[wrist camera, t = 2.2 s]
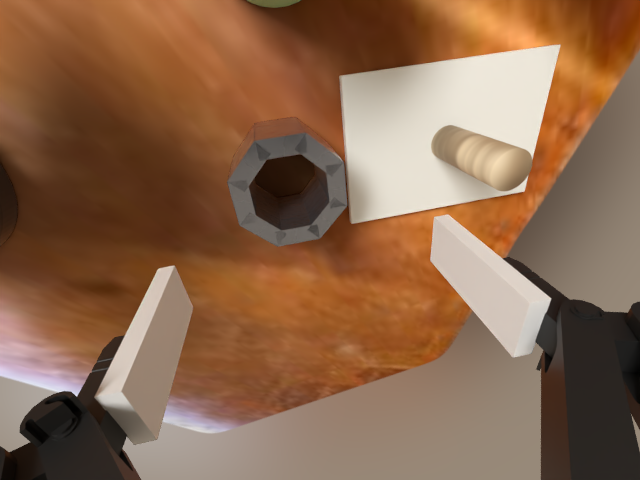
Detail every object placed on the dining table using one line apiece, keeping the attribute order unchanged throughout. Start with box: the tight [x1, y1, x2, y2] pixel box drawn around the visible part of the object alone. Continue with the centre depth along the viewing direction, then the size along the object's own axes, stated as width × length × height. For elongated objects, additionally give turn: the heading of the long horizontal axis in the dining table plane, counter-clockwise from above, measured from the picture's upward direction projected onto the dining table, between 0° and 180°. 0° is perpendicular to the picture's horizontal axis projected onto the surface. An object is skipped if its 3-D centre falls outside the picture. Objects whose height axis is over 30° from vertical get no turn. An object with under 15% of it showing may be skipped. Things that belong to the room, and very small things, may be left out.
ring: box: [227, 117, 347, 246], centre depth 26 cm, size 9×9×7 cm
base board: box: [339, 45, 560, 224], centre depth 30 cm, size 20×14×1 cm
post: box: [431, 125, 532, 191], centre depth 26 cm, size 3×3×9 cm
